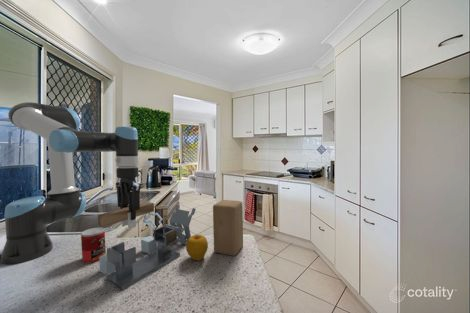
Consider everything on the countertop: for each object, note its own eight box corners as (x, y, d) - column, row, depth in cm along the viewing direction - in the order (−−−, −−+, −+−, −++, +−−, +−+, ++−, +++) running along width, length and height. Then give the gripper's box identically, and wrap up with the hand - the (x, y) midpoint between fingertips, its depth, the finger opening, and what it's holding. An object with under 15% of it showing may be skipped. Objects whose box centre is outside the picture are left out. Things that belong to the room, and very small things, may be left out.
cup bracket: (105, 279, 66) (104, 247, 66) (163, 249, 85) (162, 224, 85) (122, 290, 61) (120, 256, 60) (179, 256, 80) (179, 229, 80)
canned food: (94, 264, 75) (92, 235, 75) (76, 262, 77) (75, 234, 77) (110, 253, 83) (109, 227, 83) (94, 252, 85) (93, 226, 84)
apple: (184, 255, 81) (183, 233, 80) (205, 250, 84) (204, 230, 84) (188, 266, 73) (187, 242, 73) (210, 260, 76) (210, 238, 76)
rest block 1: (99, 270, 71) (99, 256, 71) (111, 265, 75) (111, 251, 75) (106, 275, 69) (106, 260, 68) (118, 269, 72) (118, 255, 72)
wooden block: (213, 252, 82) (211, 204, 81) (223, 242, 91) (222, 199, 91) (235, 257, 78) (234, 207, 78) (244, 245, 88) (243, 200, 87)
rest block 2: (141, 250, 85) (141, 239, 85) (149, 247, 88) (149, 235, 88) (148, 254, 82) (148, 242, 82) (157, 249, 86) (156, 238, 85)
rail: (98, 224, 71) (97, 214, 70) (148, 210, 87) (148, 201, 87) (103, 227, 69) (102, 216, 68) (153, 211, 86) (153, 203, 85)
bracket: (196, 239, 95) (195, 208, 94) (180, 248, 86) (179, 214, 86) (178, 233, 102) (177, 204, 101) (161, 241, 93) (160, 210, 93)
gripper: (106, 166, 78) (107, 225, 79) (130, 169, 70) (131, 235, 71) (125, 165, 85) (126, 219, 86) (149, 167, 76) (150, 227, 77)
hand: (128, 226), depth 78 cm, fingers closed on rail, 4 cm apart
